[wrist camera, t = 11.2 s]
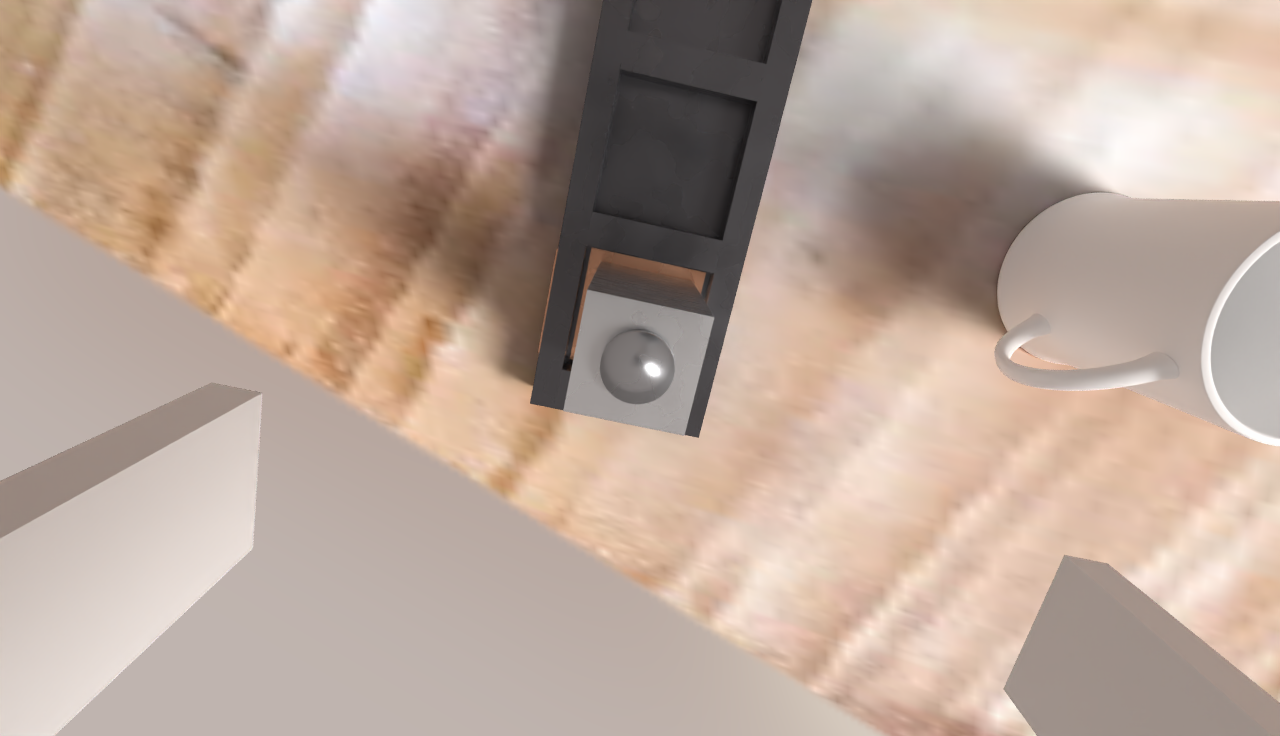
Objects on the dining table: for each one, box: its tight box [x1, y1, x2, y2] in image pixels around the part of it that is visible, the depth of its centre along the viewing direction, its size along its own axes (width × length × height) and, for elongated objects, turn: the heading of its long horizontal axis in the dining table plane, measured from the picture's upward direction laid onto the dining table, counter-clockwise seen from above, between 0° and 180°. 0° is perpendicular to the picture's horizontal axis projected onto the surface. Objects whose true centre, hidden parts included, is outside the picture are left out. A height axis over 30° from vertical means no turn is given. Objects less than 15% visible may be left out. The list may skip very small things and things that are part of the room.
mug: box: [994, 192, 1280, 446], centre depth 27 cm, size 12×8×12 cm
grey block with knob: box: [563, 261, 714, 435], centre depth 27 cm, size 4×4×10 cm
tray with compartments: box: [530, 0, 812, 438], centre depth 29 cm, size 25×8×2 cm, turn 168°
